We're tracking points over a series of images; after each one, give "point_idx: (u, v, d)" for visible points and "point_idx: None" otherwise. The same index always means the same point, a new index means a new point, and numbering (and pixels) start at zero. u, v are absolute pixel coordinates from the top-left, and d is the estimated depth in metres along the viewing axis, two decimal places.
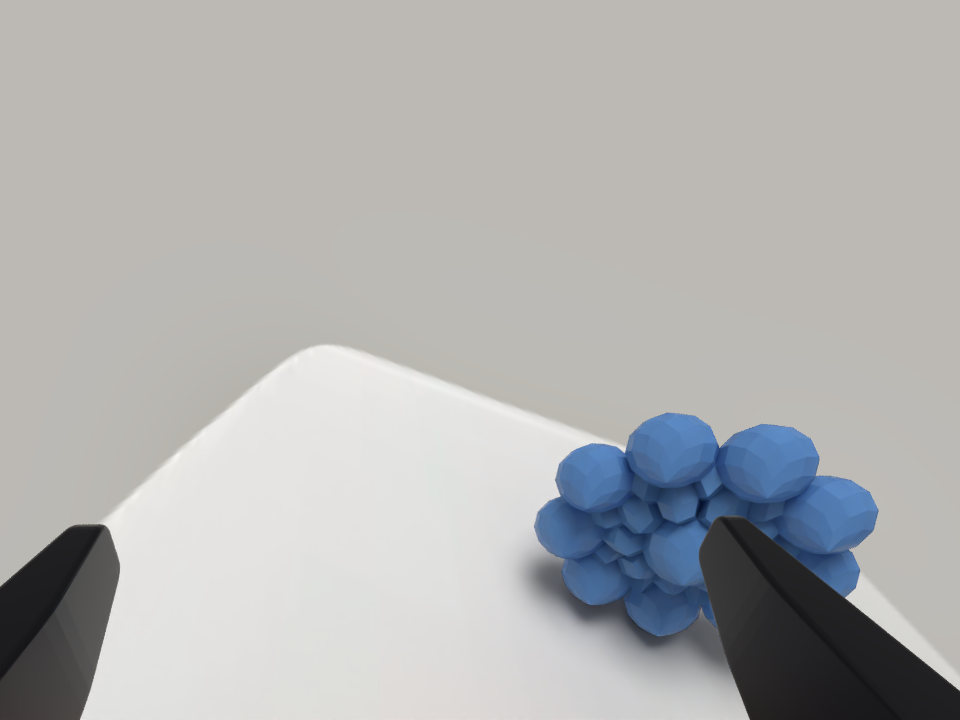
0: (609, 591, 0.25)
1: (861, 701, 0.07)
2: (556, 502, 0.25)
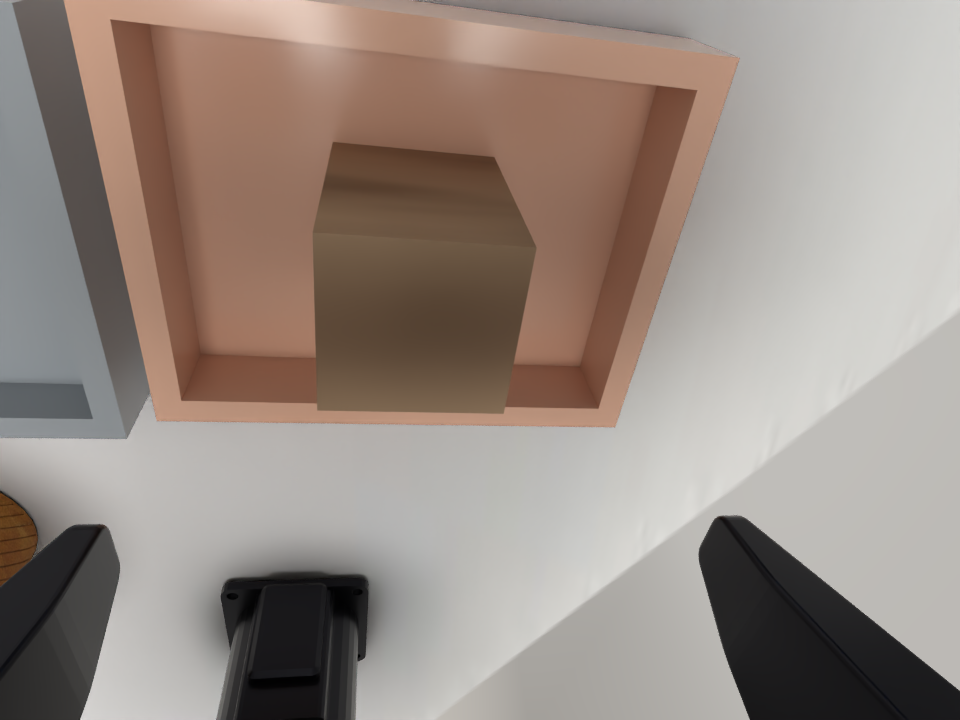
0: None
1: (861, 701, 0.07)
2: None
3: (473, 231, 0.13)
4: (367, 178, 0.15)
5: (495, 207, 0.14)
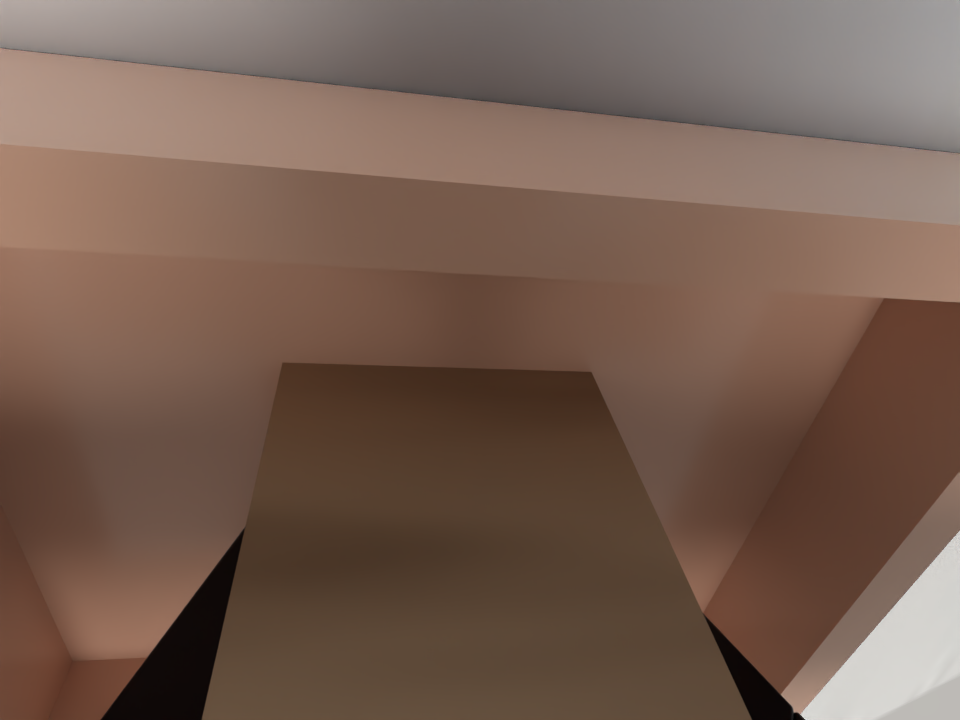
0: None
1: None
2: None
3: None
4: (345, 508, 0.07)
5: (649, 608, 0.06)
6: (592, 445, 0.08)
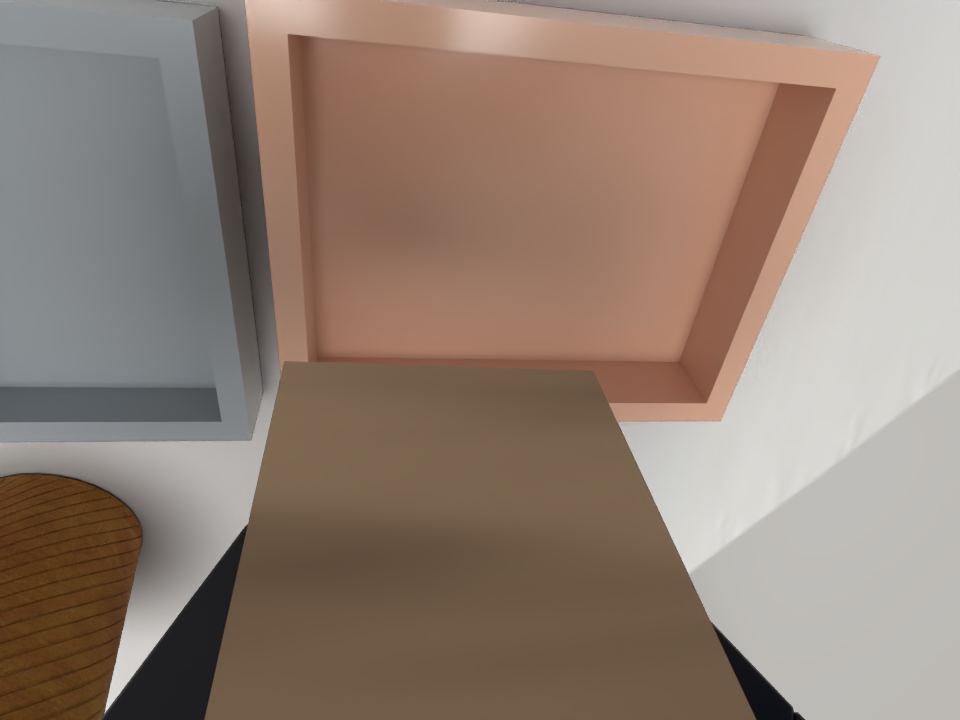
0: None
1: None
2: None
3: None
4: (348, 505, 0.07)
5: (652, 607, 0.06)
6: (594, 444, 0.08)
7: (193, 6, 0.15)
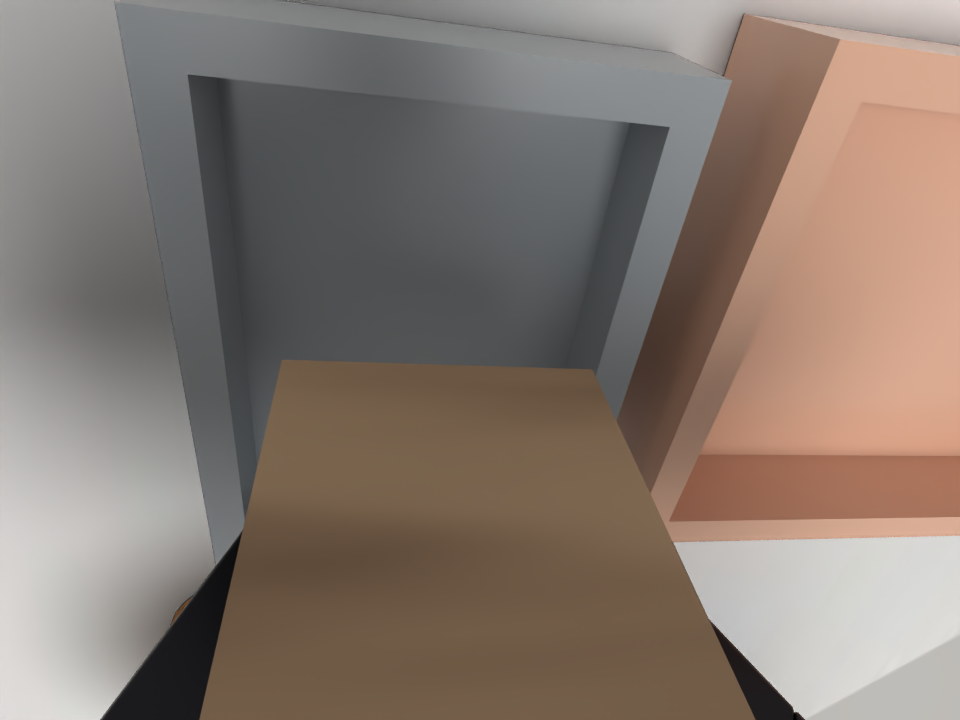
0: None
1: None
2: None
3: None
4: (345, 504, 0.07)
5: (650, 606, 0.06)
6: (593, 442, 0.08)
7: (656, 53, 0.11)
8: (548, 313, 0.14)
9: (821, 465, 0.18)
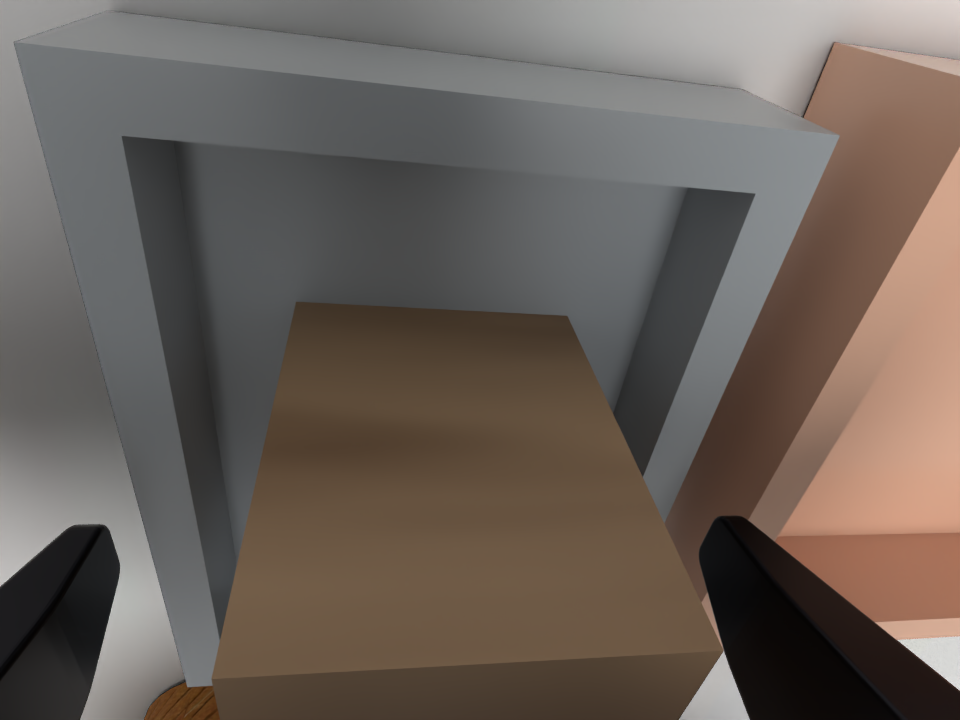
0: None
1: (861, 701, 0.07)
2: None
3: (579, 598, 0.06)
4: (352, 409, 0.08)
5: (604, 487, 0.07)
6: (564, 370, 0.09)
7: (726, 91, 0.09)
8: None
9: (886, 548, 0.16)
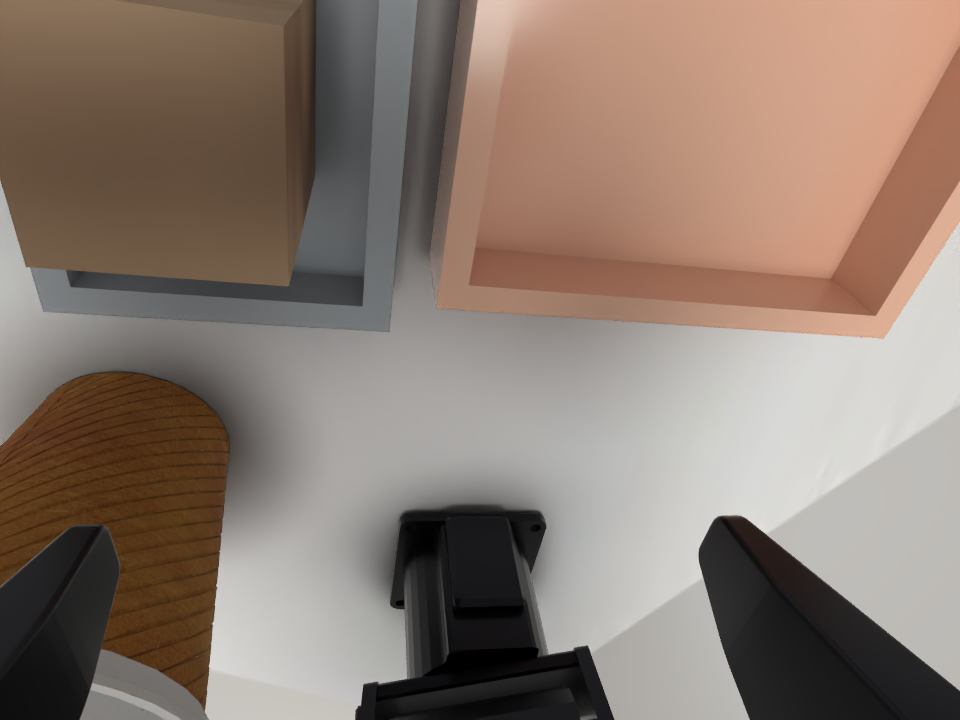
0: None
1: (861, 701, 0.07)
2: None
3: (203, 7, 0.09)
4: None
5: (265, 2, 0.11)
6: None
7: None
8: (344, 69, 0.15)
9: (636, 267, 0.19)
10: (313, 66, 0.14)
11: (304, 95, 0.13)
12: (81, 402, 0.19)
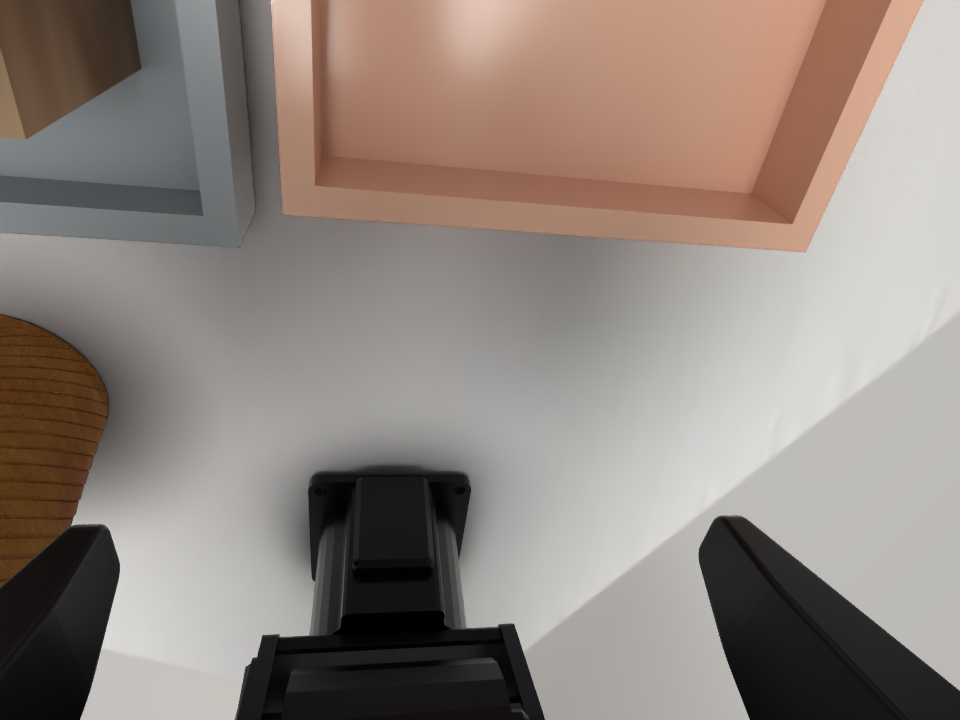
0: None
1: (861, 701, 0.07)
2: None
3: None
4: None
5: None
6: None
7: None
8: None
9: (524, 177, 0.17)
10: None
11: None
12: None
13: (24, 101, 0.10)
